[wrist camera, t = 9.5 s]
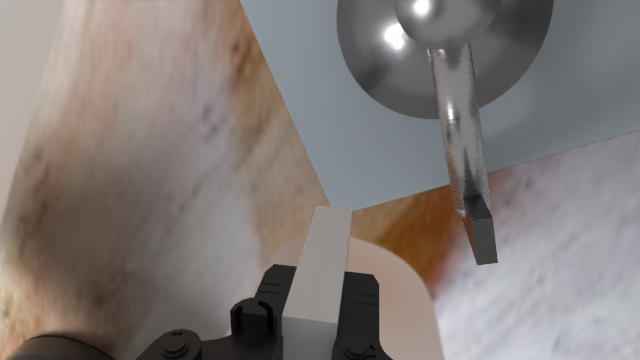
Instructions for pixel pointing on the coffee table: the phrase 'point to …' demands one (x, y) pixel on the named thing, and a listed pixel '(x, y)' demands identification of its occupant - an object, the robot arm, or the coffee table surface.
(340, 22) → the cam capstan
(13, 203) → the coffee table surface
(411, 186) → the stand
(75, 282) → the coffee table surface
